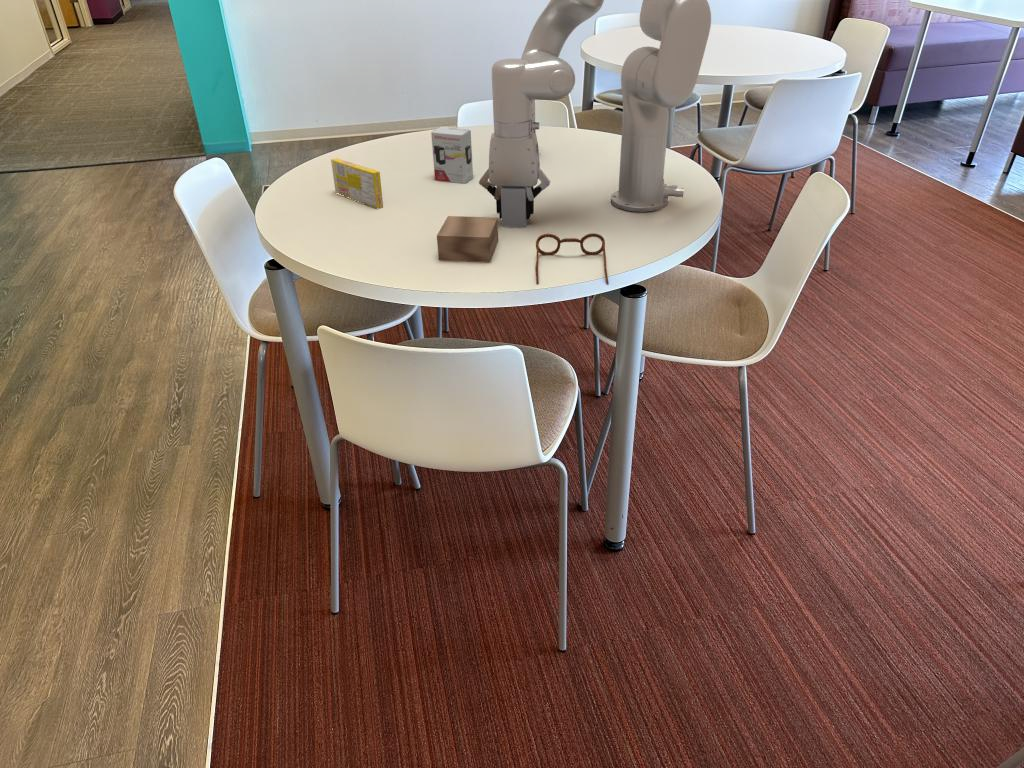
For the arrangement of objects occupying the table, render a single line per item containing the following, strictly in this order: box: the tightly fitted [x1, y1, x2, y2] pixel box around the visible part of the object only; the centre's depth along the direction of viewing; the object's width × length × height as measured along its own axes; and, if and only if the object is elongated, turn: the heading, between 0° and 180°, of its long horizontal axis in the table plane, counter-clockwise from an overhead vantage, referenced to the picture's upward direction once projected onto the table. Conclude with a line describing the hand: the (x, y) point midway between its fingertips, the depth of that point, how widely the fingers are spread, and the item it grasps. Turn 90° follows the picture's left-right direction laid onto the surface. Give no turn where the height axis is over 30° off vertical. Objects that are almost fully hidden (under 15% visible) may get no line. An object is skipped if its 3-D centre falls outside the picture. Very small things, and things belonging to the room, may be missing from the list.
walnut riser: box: [436, 215, 500, 263], centre depth 139 cm, size 10×10×5 cm
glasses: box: [534, 232, 610, 286], centre depth 131 cm, size 13×13×5 cm
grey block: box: [501, 187, 529, 228], centre depth 150 cm, size 5×5×8 cm
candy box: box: [330, 157, 384, 209], centre depth 164 cm, size 16×2×8 cm, turn 47°
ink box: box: [430, 126, 474, 185], centre depth 173 cm, size 9×5×12 cm, turn 68°
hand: (515, 215), depth 151 cm, fingers closed on grey block, 5 cm apart
